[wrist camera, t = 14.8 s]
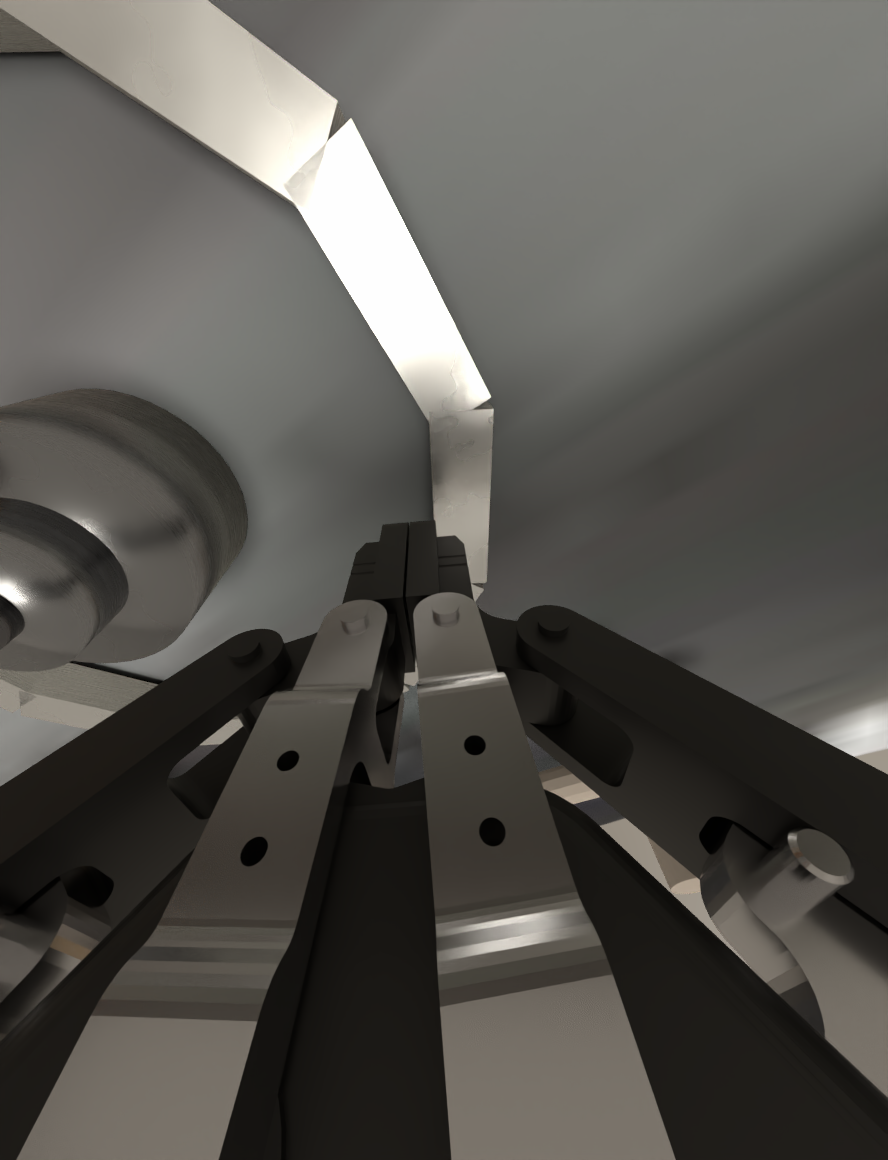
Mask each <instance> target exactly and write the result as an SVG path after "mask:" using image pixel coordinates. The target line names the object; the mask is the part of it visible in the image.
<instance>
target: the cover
mask: <svg viewBox="0 0 888 1160" xmlns="http://www.w3.org/2000/svg"><path fill="white" fill-rule="evenodd" d="M247 528H248V516H247V509H246V504H245V500H244V497H243V493H242V491H241V489H240V486H239V484H238V482H237V480H236V478H235V476H234V475H233V473H232V471H231V469H230V468H229V466H228V465H227V464H226V462H225V461H224V459H223V458H222V457H221V455H220V454H219V453H218V452H217V451H216V450H215V449H214V448H213V446H212V445H211V444H210V443H209V442H208V441H207V440H206V439H205V438H203V437H202V436H201V435H200V434H199V433H198V432H197V431H196V430H194V429H193V428H192V427H190V426H189V425H188V424H186V423H185V422H184V421H182V420H181V419H179V418H178V417H176V416H175V415H173V414H171V413H170V412H168V411H166V410H164V409H162V408H160V407H158V406H156V405H154V404H152V403H150V402H148V401H145V400H143V399H140V398H137V397H135V396H132V395H128V394H124V393H120V392H116V391H110V390H103V389H76V390H69V391H64V392H60V393H56V394H51V395H47V396H43V397H39V398H35V399H31V400H27V401H23V402H19V403H14V404H10V405H6V406H2V407H0V669H3V670H11V671H24V672H32V671H45V670H50V669H55V668H58V667H61V666H63V665H65V664H67V663H69V662H71V661H78V662H89V663H117V662H125V661H132V660H136V659H141V658H144V657H147V656H150V655H153V654H155V653H157V652H159V651H161V650H163V649H165V648H166V647H168V646H169V645H170V644H172V643H173V642H174V641H175V640H176V639H177V638H178V637H179V636H180V635H181V634H182V632H183V631H184V630H185V628H186V627H187V626H188V624H189V623H190V621H191V620H192V619H193V617H194V616H195V614H196V613H197V612H198V610H199V609H200V607H201V606H202V605H203V603H204V602H205V600H206V599H207V598H208V596H209V595H210V593H211V592H212V591H213V589H214V588H215V586H216V585H217V584H218V582H219V581H220V579H221V578H222V577H223V575H224V574H225V572H226V571H227V570H228V568H229V567H230V565H231V564H232V563H233V561H234V560H235V558H236V557H237V556H238V554H239V552H240V550H241V549H242V547H243V544H244V541H245V539H246V534H247Z"/></svg>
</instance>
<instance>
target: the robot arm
mask: <svg viewBox="0 0 888 1160" xmlns="http://www.w3.org/2000/svg"><path fill="white" fill-rule="evenodd" d="M415 662H416V663H417V669H418V679H419V684H417V691H418V705H419V717H420V730H421V743H422V755H423V768H424V778H422V779H419V780H416V781H413V782H410V783H408V784H405V785H402V786H399V787H396V788H395V787H394V776H395V766H396V759H397V751H398V744H399V737H400V729H401V722H402V715H403V708H404V694H403V689H404V677H405V673H411V672H415ZM236 716H238V718H239V719H240V721H241V723H242V724H243V726H242V727H241V728H240V729H239V730H238V731H236V732H235V733H234V734H233V735H231V736H230V737H229V738H228V739H227V740H225V741H224V742H223V743H222V744H220V745H219V746H218V747H217V748H216V749H214V750H213V751H212V752H211V753H209V754H208V755H207V756H206V757H205V758H203V759H202V760H201V761H200V762H198V763H197V764H196V765H195V766H194V767H192V768H191V769H190V770H189V771H187V772H186V773H184V774H183V775H181V776H179V777H176V778H168V776H169V773H170V772H171V770H172V769H173V767H174V766H175V765H176V764H177V763H178V762H179V761H180V760H181V759H182V758H184V757H185V756H186V755H187V754H189V753H190V752H191V751H193V750H194V749H195V748H196V747H198V746H199V745H200V744H201V743H203V742H204V741H205V740H206V739H208V738H209V737H210V736H212V735H213V734H214V733H215V732H217V731H218V730H219V729H220V728H222V727H223V726H224V725H225V724H227V723H228V722H229V721H231V720H232V719H233V718H234V717H236ZM526 735H527V736H528V737H529V738H530V739H531V740H533V741H534V742H535V743H536V744H537V745H539V746H540V747H541V748H542V749H543V750H545V751H546V752H547V753H548V754H549V755H551V756H552V757H553V758H554V759H555V760H557V761H558V762H559V763H560V764H561V765H563V766H564V767H565V768H566V769H567V770H569V771H570V772H571V773H572V774H573V775H575V776H576V777H577V778H578V779H579V780H581V781H582V782H583V783H584V784H585V785H587V786H588V787H589V788H590V789H591V790H593V791H594V792H595V793H596V794H597V795H599V796H600V797H601V798H602V799H603V800H605V801H606V802H607V803H608V804H609V805H611V806H612V807H613V808H614V809H615V810H617V811H618V812H619V813H620V814H621V815H622V816H624V817H625V818H626V819H627V820H629V821H630V822H631V823H632V824H633V825H634V826H636V827H637V828H638V829H639V830H641V831H642V832H643V833H644V834H645V835H646V836H648V837H649V838H650V839H651V840H652V841H654V842H655V843H656V844H657V845H658V846H660V847H661V848H662V849H663V850H664V851H666V852H667V853H668V854H669V855H670V856H672V857H673V858H674V859H675V860H676V861H678V862H679V863H680V864H681V865H682V866H684V867H685V868H686V869H687V870H688V871H690V872H691V873H692V874H693V875H694V876H696V877H697V878H698V879H699V880H700V890H701V895H702V899H703V902H704V905H705V907H706V910H707V912H708V914H709V916H710V918H711V920H712V921H713V923H714V925H715V926H716V928H717V929H718V931H719V932H720V933H721V934H722V936H723V937H724V938H725V940H726V941H727V942H728V943H729V944H730V945H731V946H732V947H733V948H734V949H735V950H736V951H737V952H738V954H739V955H740V956H741V957H742V958H743V959H744V960H745V961H746V963H747V964H748V965H749V966H748V965H747V964H745V963H744V962H743V961H742V960H741V959H740V958H739V957H738V956H737V955H736V954H735V953H734V952H733V951H732V950H731V949H729V948H728V947H727V946H726V945H725V944H724V943H723V942H722V941H721V940H720V939H719V938H718V937H717V936H716V935H715V934H714V933H712V932H711V931H710V930H709V929H708V928H707V927H706V926H705V925H704V924H703V923H702V922H701V921H700V920H698V918H697V917H695V915H693V914H692V913H691V912H690V911H689V910H688V909H687V908H686V907H685V906H684V905H683V904H682V903H681V902H680V901H679V900H678V899H676V898H675V897H674V896H673V895H672V894H671V893H670V892H669V891H668V890H667V889H666V888H665V887H664V886H663V885H662V884H661V883H659V882H658V881H657V880H656V879H655V878H654V877H653V876H652V875H651V874H650V873H649V872H648V871H647V870H646V869H645V868H644V867H642V866H641V865H640V864H639V863H638V862H637V861H636V860H635V859H634V858H633V857H632V856H631V855H630V854H629V853H628V852H627V851H626V850H624V849H623V848H622V847H621V846H620V845H619V844H618V843H617V842H616V841H615V840H614V839H613V838H612V837H611V836H610V835H609V834H607V833H606V832H605V831H604V830H603V829H602V828H601V827H600V826H599V825H598V824H597V823H596V822H595V821H594V820H592V819H591V818H590V817H589V816H588V815H587V814H585V813H584V812H583V811H581V810H580V809H579V808H577V807H576V806H575V805H573V804H572V803H570V802H568V801H567V800H565V799H563V798H562V797H560V796H558V795H556V794H554V793H552V792H550V791H548V790H545V789H543V786H542V783H541V780H540V776H539V773H538V770H537V767H536V764H535V761H534V758H533V755H532V752H531V749H530V746H529V743H528V740H527V737H526ZM0 1160H888V774H886V773H884V772H882V771H880V770H878V769H876V768H874V767H872V766H870V765H868V764H866V763H865V762H863V761H861V760H859V759H857V758H855V757H853V756H851V755H849V754H847V753H845V752H844V751H842V750H840V749H838V748H836V747H834V746H832V745H830V744H828V743H826V742H824V741H822V740H820V739H819V738H817V737H815V736H813V735H811V734H809V733H807V732H805V731H803V730H801V729H799V728H797V727H795V726H794V725H792V724H790V723H788V722H786V721H784V720H782V719H780V718H778V717H776V716H774V715H772V714H770V713H768V712H767V711H765V710H763V709H761V708H759V707H757V706H755V705H753V704H751V703H749V702H747V701H745V700H743V699H742V698H740V697H738V696H736V695H734V694H732V693H730V692H728V691H726V690H724V689H722V688H720V687H718V686H717V685H715V684H713V683H711V682H709V681H707V680H705V679H703V678H701V677H699V676H697V675H695V674H693V673H692V672H690V671H688V670H686V669H684V668H682V667H680V666H678V665H676V664H674V663H672V662H670V661H668V660H667V659H665V658H663V657H661V656H659V655H657V654H655V653H653V652H651V651H649V650H647V649H645V648H643V647H641V646H640V645H638V644H636V643H634V642H632V641H630V640H628V639H626V638H624V637H622V636H620V635H618V634H616V633H615V632H613V631H611V630H609V629H607V628H605V627H603V626H601V625H599V624H597V623H595V622H593V621H591V620H590V619H588V618H586V617H584V616H582V615H580V614H578V613H576V612H574V611H572V610H570V609H567V608H564V607H560V606H553V605H543V606H537V607H533V608H531V609H529V610H527V611H525V612H524V613H523V614H522V615H521V616H520V617H519V619H518V621H513V620H506V619H501V618H496V617H493V616H491V615H489V614H487V613H485V612H483V611H482V610H481V609H480V608H479V607H478V606H477V604H476V603H475V601H474V598H473V592H472V587H471V581H470V575H469V569H468V564H467V558H466V552H465V546H464V543H463V542H462V541H461V540H460V539H459V538H457V537H456V536H455V535H452V536H441V537H437V531H436V521H435V520H429V521H418V522H410V526H409V523H396V524H385V525H383V526H382V531H381V536H380V542H373V543H366V544H365V545H364V546H363V547H362V548H361V549H360V550H359V551H358V552H357V553H356V556H355V559H354V563H353V567H352V570H351V576H350V578H349V581H348V585H347V589H346V592H345V596H344V600H343V603H342V604H341V605H339V606H337V607H336V608H334V609H333V610H331V611H330V612H329V613H328V614H327V615H326V617H325V618H324V620H323V622H322V624H321V626H320V629H319V631H318V632H317V633H315V634H313V635H310V636H307V637H304V638H300V639H297V640H294V641H291V642H288V643H284V642H283V639H282V637H281V636H280V634H278V633H277V632H275V631H273V630H269V629H255V630H250V631H246V632H243V633H241V634H238V635H236V636H234V637H232V638H230V639H229V640H227V641H226V642H224V643H222V644H221V645H219V646H218V647H216V648H215V649H213V650H212V651H210V652H208V653H207V654H205V655H204V656H202V657H201V658H199V659H198V660H196V661H194V662H193V663H191V664H190V665H188V666H187V667H185V668H184V669H182V670H181V671H179V672H177V673H176V674H174V675H173V676H171V677H170V678H168V679H167V680H165V681H163V682H162V683H160V684H159V685H157V686H156V687H154V688H153V689H151V690H149V691H148V692H146V693H145V694H143V695H142V696H140V697H139V698H137V699H136V700H134V701H132V702H131V703H129V704H128V705H126V706H125V707H123V708H122V709H120V710H118V711H117V712H115V713H114V714H112V715H111V716H109V717H108V718H106V719H104V720H103V721H101V722H100V723H98V724H97V725H95V726H94V727H92V728H91V729H89V730H87V731H86V732H84V733H83V734H81V735H80V736H78V737H77V738H75V739H73V740H72V741H70V742H69V743H67V744H66V745H64V746H63V747H61V748H59V749H58V750H56V751H55V752H53V753H52V754H50V755H49V756H47V757H45V758H44V759H42V760H41V761H39V762H38V763H36V764H35V765H33V766H32V767H30V768H28V769H27V770H25V771H24V772H22V773H21V774H19V775H18V776H16V777H14V778H13V779H11V780H10V781H8V782H7V783H5V784H4V785H2V786H0Z"/></svg>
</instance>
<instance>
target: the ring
mask: <svg viewBox="0 0 888 1160" xmlns="http://www.w3.org/2000/svg"><path fill="white" fill-rule="evenodd" d="M51 51H60V52H62V53H63V54H65V55H66V56H68V57H69V58H71V59H72V60H74V61H75V62H77V63H78V64H80V65H81V66H83V67H84V68H86V69H87V70H89V71H90V72H92V73H93V74H95V75H96V76H98V77H99V78H101V79H103V80H104V81H106V82H107V83H109V84H110V85H112V86H113V87H115V88H116V89H118V90H119V91H121V92H122V93H124V94H125V95H127V96H128V97H130V98H131V99H133V100H134V101H136V102H137V103H139V104H140V105H142V106H143V107H145V108H146V109H148V110H149V111H151V112H152V113H154V114H155V115H157V116H159V117H160V118H162V119H163V120H165V121H166V122H168V123H169V124H171V125H172V126H174V127H175V128H177V129H178V130H180V131H181V132H183V133H184V134H186V135H187V136H189V137H190V138H192V139H193V140H195V141H196V142H198V143H199V144H201V145H202V146H204V147H205V148H207V149H208V150H210V151H211V152H213V153H214V154H216V155H218V156H219V157H221V158H222V159H224V160H225V161H227V162H228V163H230V164H231V165H233V166H234V167H236V168H237V169H239V170H240V171H242V172H243V173H245V174H246V175H248V176H249V177H251V178H252V179H254V180H255V181H257V182H258V183H260V184H261V185H263V186H264V187H266V188H267V189H269V190H270V191H272V192H273V193H275V194H277V195H278V196H280V197H281V198H283V199H284V200H286V201H287V202H289V203H290V204H292V205H293V206H295V207H296V208H298V210H299V211H300V213H301V215H302V216H303V218H304V219H305V221H306V223H307V224H308V226H309V228H310V229H311V231H312V233H313V234H314V236H315V237H316V239H317V241H318V242H319V244H320V246H321V247H322V249H323V250H324V252H325V254H326V255H327V257H328V259H329V260H330V262H331V263H332V265H333V267H334V268H335V270H336V272H337V273H338V275H339V277H340V278H341V280H342V281H343V283H344V285H345V286H346V288H347V290H348V291H349V293H350V294H351V296H352V298H353V299H354V301H355V303H356V304H357V306H358V308H359V309H360V311H361V312H362V314H363V316H364V317H365V319H366V321H367V322H368V324H369V325H370V327H371V329H372V330H373V332H374V334H375V335H376V337H377V338H378V340H379V342H380V343H381V345H382V347H383V348H384V350H385V352H386V353H387V355H388V356H389V358H390V360H391V361H392V363H393V365H394V366H395V368H396V369H397V371H398V373H399V374H400V376H401V378H402V379H403V381H404V383H405V384H406V386H407V387H408V389H409V391H410V392H411V394H412V396H413V397H414V399H415V400H416V402H417V404H418V405H419V407H420V409H421V410H422V412H423V413H424V415H425V417H426V418H427V420H428V422H429V437H430V457H431V478H432V498H433V518H434V520H435V521H436V531H437V537H441V536H452V535H455V536H456V537H457V538H459V539H460V540H461V541H462V542H463V543H464V546H465V552H466V558H467V564H468V569H469V575H470V581H471V587H472V592H473V598H474V601H476V600H477V598H478V597H479V596H480V594H481V593H482V591H483V590H484V587H483V583H486V582H487V560H488V536H489V512H490V488H491V464H492V440H493V416H494V409H493V407H492V406H491V405H490V403H489V402H488V401H487V400H488V399H489V398H491V396H490V394H489V392H488V390H487V388H486V386H485V384H484V382H483V380H482V378H481V376H480V374H479V372H478V370H477V368H476V366H475V364H474V362H473V360H472V358H471V356H470V354H469V352H468V350H467V348H466V346H465V344H464V342H463V340H462V338H461V336H460V334H459V332H458V330H457V328H456V326H455V324H454V322H453V320H452V318H451V316H450V314H449V312H448V310H447V308H446V306H445V304H444V302H443V300H442V298H441V296H440V294H439V292H438V290H437V288H436V286H435V284H434V282H433V280H432V278H431V276H430V274H429V272H428V270H427V268H426V266H425V264H424V262H423V260H422V258H421V256H420V254H419V252H418V250H417V248H416V246H415V244H414V242H413V240H412V238H411V236H410V234H409V232H408V230H407V228H406V226H405V224H404V222H403V220H402V218H401V216H400V214H399V212H398V210H397V208H396V206H395V204H394V202H393V200H392V198H391V196H390V194H389V192H388V190H387V188H386V186H385V184H384V182H383V180H382V178H381V176H380V174H379V172H378V170H377V168H376V166H375V164H374V162H373V160H372V158H371V156H370V154H369V152H368V150H367V148H366V146H365V144H364V142H363V140H362V138H361V136H360V134H359V132H358V130H357V128H356V126H355V124H354V122H353V120H352V119H350V120H349V121H348V122H347V123H346V122H345V119H344V117H343V114H342V111H341V109H340V106H339V104H338V101H337V100H336V99H334V98H333V97H332V96H331V95H329V94H328V93H327V92H325V91H324V90H323V89H321V88H320V87H319V86H318V85H316V84H315V83H314V82H312V81H311V80H310V79H309V78H307V77H306V76H305V75H303V74H302V73H301V72H300V71H298V70H297V69H296V68H294V67H293V66H292V65H290V64H289V63H288V62H287V61H285V60H284V59H283V58H281V57H280V56H279V55H278V54H276V53H275V52H274V51H272V50H271V49H270V48H268V47H267V46H266V45H265V44H263V43H262V42H261V41H259V40H258V39H257V38H256V37H254V36H253V35H252V34H250V33H249V32H248V31H246V30H245V29H244V28H243V27H241V26H240V25H239V24H237V23H236V22H235V21H234V20H232V19H231V18H230V17H228V16H227V15H226V14H224V13H223V12H222V11H221V10H219V9H218V8H217V7H215V6H214V5H213V4H212V3H210V2H209V1H208V0H0V52H51ZM418 680H419V679H418V669H417V663H416V662H415V672H411V673H405V677H404V689H403V693H404V692H406V691H408V690H409V689H410V685H412V686H415V684H416V683H417V682H418ZM157 685H158V684H154V683H149V682H145V681H141V680H137V679H133V678H129V677H125V676H121V675H117V674H113V673H109V672H105V671H101V670H97V669H93V668H89V667H85V666H81V665H77V664H73V663H67V664H65V665H63V666H61V667H58V668H55V669H50V670H45V671H32V672H24V671H11V670H3V669H0V707H1V708H3V709H5V710H7V711H10V712H12V713H13V712H14V711H16V710H17V709H19V708H21V716H26V717H30V718H35V719H40V720H45V721H50V722H55V723H60V724H65V725H70V726H75V727H79V728H84V729H91V728H92V727H94V726H95V725H97V724H98V723H100V722H101V721H103V720H104V719H106V718H108V717H109V716H111V715H112V714H114V713H115V712H117V711H118V710H120V709H122V708H123V707H125V706H126V705H128V704H129V703H131V702H132V701H134V700H136V699H137V698H139V697H140V696H142V695H143V694H145V693H146V692H148V691H149V690H151V689H153V688H154V687H156V686H157ZM242 726H243V724H242V723H241V721H240V719H239V718H238V716H236V717H234V718H233V719H232V720H231V721H229V722H228V723H227V724H225V725H224V726H223V727H222V728H220V729H219V730H218V731H217V732H215V733H214V734H213V735H212V736H210V737H209V738H208V739H206V740H205V741H204V742H203V743H201V744H200V745H212V744H222V743H223V742H224V741H225V740H227V739H228V738H229V737H230V736H231V735H233V734H234V733H235V732H236V731H238V730H239V729H240V728H241V727H242Z"/></svg>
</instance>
